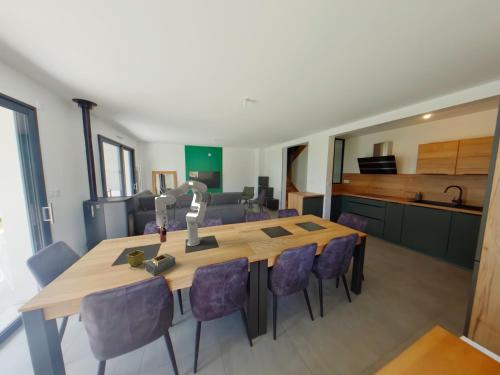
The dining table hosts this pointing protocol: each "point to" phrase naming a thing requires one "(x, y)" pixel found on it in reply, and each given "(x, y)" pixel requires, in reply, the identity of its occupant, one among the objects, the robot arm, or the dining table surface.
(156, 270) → the grey box with hole
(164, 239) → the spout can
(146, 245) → the dining table surface
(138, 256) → the flower pot
